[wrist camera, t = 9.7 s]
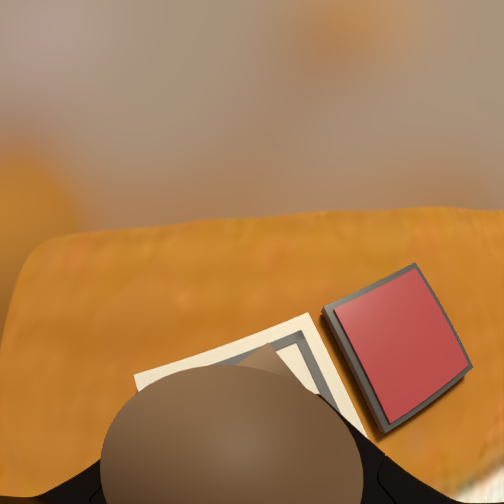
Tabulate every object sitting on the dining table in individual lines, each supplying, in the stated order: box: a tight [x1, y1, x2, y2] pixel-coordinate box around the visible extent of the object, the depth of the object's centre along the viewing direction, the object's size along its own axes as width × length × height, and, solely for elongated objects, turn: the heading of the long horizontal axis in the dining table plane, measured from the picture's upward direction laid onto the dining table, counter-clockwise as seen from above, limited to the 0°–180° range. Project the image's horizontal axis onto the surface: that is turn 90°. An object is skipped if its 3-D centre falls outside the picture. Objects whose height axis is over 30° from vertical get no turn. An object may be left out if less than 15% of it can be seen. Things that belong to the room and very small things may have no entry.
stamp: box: [100, 343, 363, 504], centre depth 7 cm, size 6×6×11 cm
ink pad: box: [321, 263, 473, 433], centre depth 15 cm, size 8×7×1 cm
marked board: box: [134, 313, 368, 438], centre depth 13 cm, size 10×10×1 cm
